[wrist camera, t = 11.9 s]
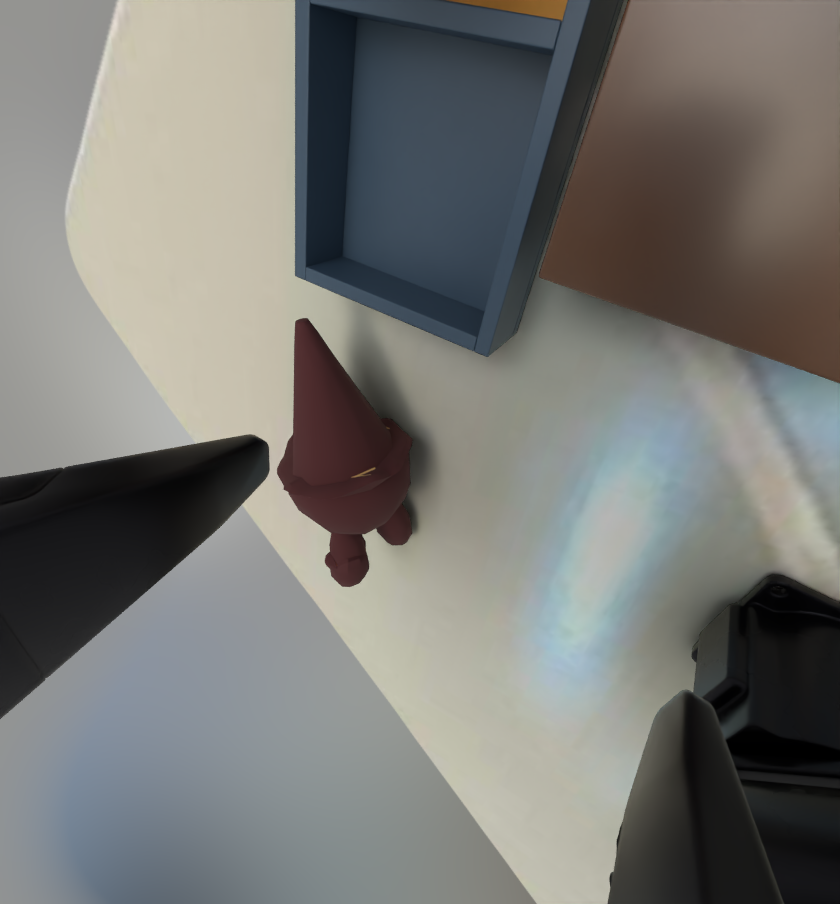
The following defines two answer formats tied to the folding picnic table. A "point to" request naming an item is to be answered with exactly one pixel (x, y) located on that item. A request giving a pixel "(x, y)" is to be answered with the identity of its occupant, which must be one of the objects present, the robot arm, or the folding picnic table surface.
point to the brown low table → (715, 177)
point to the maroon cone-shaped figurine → (343, 459)
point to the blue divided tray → (438, 150)
